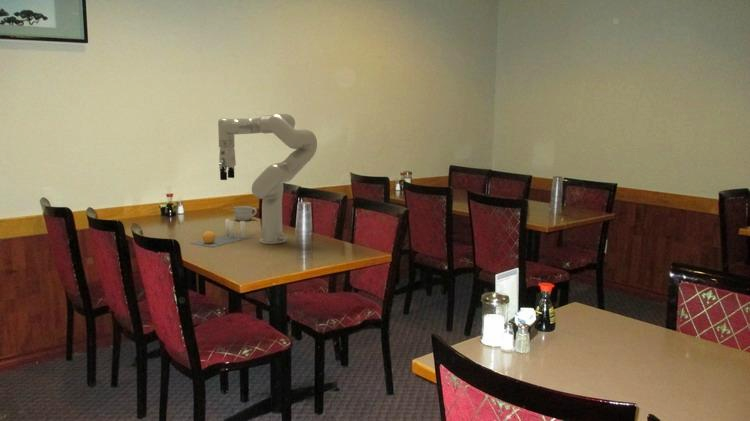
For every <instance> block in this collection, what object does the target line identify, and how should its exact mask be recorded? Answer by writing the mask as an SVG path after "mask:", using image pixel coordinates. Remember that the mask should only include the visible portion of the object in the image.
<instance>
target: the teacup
mask: <svg viewBox="0 0 750 421" xmlns="http://www.w3.org/2000/svg"><path fill="white" fill-rule="evenodd" d="M253 210H254V213H253ZM257 210H258V209H257V208H256V207H253V206H249V205H247V206H246V205H241V206H234V207H233V216H234V218H235V219H236V221H239V222H240V221H245V222H246V221H250V220H251V219H252V218H253V217H254V216H256V215H257V213H258V211H257Z"/></svg>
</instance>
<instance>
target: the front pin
mask: <svg viewBox="0 0 750 421" xmlns="http://www.w3.org/2000/svg"><path fill="white" fill-rule="evenodd" d="M234 235H235V221H234V220H230V221H229V238H234Z"/></svg>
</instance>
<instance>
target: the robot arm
mask: <svg viewBox="0 0 750 421" xmlns="http://www.w3.org/2000/svg"><path fill="white" fill-rule="evenodd" d="M217 125H218V148H219V159H218V160H219V163H218V166H219V167H218V168H219V178H220V180H221V181H227V180H228V179H234V178H235V166H236V164H237V162H236V161H237V160H236V150H235V135H250V134H253V135H254V134H264V135H265V134H274V136H276V137H277V138H278V139H279V140H280V141H281V142H282V143H283V144H284V145H286V146H287V147H288V148H290V149H294V150H293V151H292V152H291V153H290V154H289V155H288V156H287V157H286V158H285V159H284V160H283V161H281V162H277V163H272V164H270V165H269V166H267V167H266V168H265V169H264V170H263V171H262V172H261V174H260V175H259V176H258V177H257V178H256V179H255V180H254V181H253V183H252V185H251V194H252V195H253V196H254V197H255V198H256V199H261V200H262V201H261V202H262V204H261V220H262V221H261V226H262V228H261V229H262V230H261V231H262V233H261V234H262V237H261V238H259V241H258V242H259V243H260V244H265V245H266V244H267V245H276V244H282V243H285V242H286V241H287V240H288V239H289V236H288V235H285V232H283V205H282V204H283V195H284V183H288V182H291V180H293V179H294V177H296V175H298V173H299V172H300V171H301V170H302V169H303V168H304V167H305V166H306V165H307V164H308V163H310V161H311V160H312V159H313V157H314V156H315V154H316V152H317V149H318V140H317V137H316V135H315V133H314V132H313V131H311V130H309V129H295V126H296V120H295V118H294V117H293V116H292V115H291V114H287V113H275V114H268V115H267V114H266V115H261V116H259V117H253V118H251V117H250V118H249V117H248V118H220V119H219V120H218V123H217Z"/></svg>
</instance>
